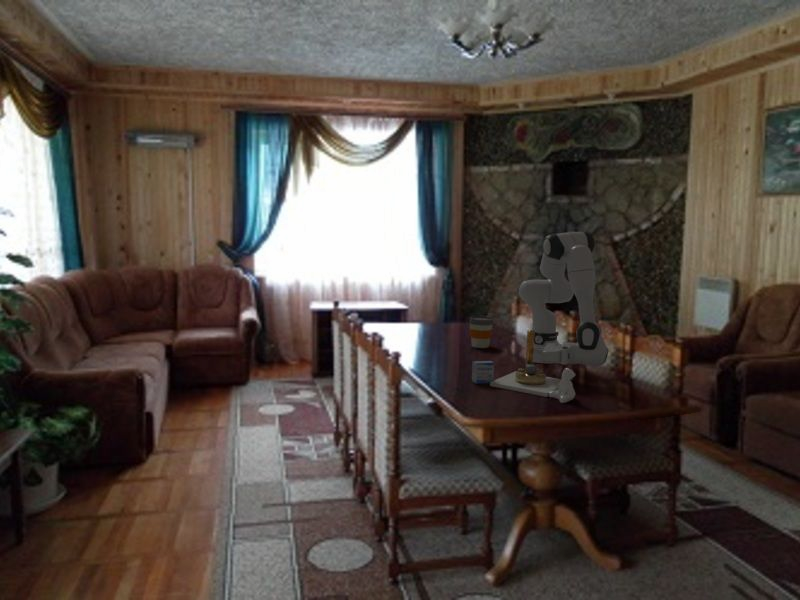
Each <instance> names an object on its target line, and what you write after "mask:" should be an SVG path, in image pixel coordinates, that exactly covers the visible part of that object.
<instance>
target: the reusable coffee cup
mask: <svg viewBox="0 0 800 600" xmlns="http://www.w3.org/2000/svg"><path fill="white" fill-rule="evenodd" d="M493 325H494V318H493V317H488V316H470V317H469V336H470V339H471V340H470V341H471V347H473V348H477V349H487V348H489V347H490V341H491V339H492V336H493V335H492V334H493Z"/></svg>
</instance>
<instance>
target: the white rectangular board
mask: <svg viewBox="0 0 800 600" xmlns="http://www.w3.org/2000/svg"><path fill="white" fill-rule="evenodd" d="M525 370H526V373H527V374H536V370H537V365H535V364H532V365H526V364H525ZM517 371H518V370H516V371H513V372H511V373H509V374H506V375H504V376H501V377H499V378H496V379H493V381H492V382H490V383H489V386H490V387H492V388H493V387H494V388H500V389H503V390H509V391H514V392H519V393H524V394H529V395H535V396H539V397H544V398H547V397H549V392H551V391H558V390H559V383H560V382H561V379H562V378H556V377H555V378H554V377H550V376H546V382H545V384H542V385H526V384H521V383H518V382H516V381H515V377H516V372H517Z"/></svg>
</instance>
